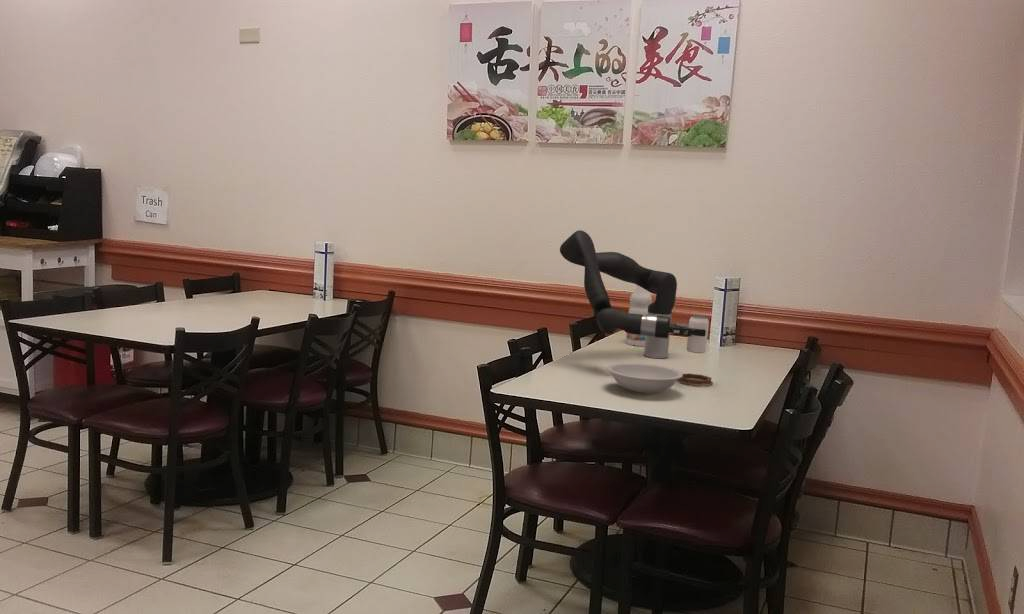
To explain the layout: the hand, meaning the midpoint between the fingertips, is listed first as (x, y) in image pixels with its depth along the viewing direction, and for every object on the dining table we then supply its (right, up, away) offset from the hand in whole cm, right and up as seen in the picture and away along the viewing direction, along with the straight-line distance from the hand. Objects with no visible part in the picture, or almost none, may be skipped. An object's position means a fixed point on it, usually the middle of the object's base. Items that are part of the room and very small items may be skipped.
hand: (705, 331), depth 282 cm
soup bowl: (-23, -19, -14) cm, 33 cm away
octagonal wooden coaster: (-3, -17, +3) cm, 18 cm away
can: (-3, -7, +2) cm, 8 cm away
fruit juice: (-12, -8, +71) cm, 73 cm away
